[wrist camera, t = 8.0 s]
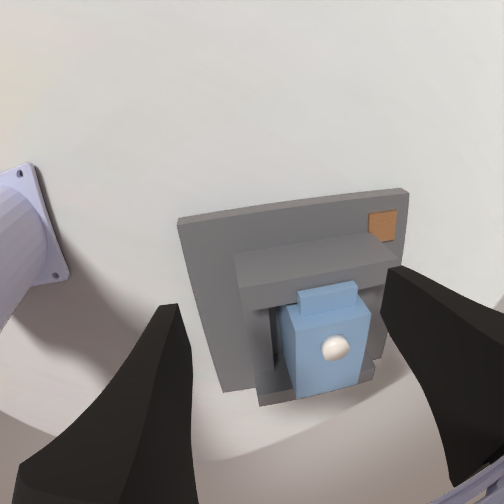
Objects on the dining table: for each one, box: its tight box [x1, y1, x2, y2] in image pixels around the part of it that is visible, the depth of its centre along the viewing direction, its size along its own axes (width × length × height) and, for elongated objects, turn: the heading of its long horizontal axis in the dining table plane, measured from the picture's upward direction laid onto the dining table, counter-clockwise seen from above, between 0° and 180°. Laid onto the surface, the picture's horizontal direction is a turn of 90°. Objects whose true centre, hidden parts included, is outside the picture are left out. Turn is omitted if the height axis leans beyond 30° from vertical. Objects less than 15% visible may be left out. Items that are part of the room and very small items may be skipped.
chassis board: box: [177, 188, 409, 407], centre depth 19 cm, size 14×15×4 cm
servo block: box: [278, 280, 371, 399], centre depth 18 cm, size 4×8×6 cm, turn 7°
